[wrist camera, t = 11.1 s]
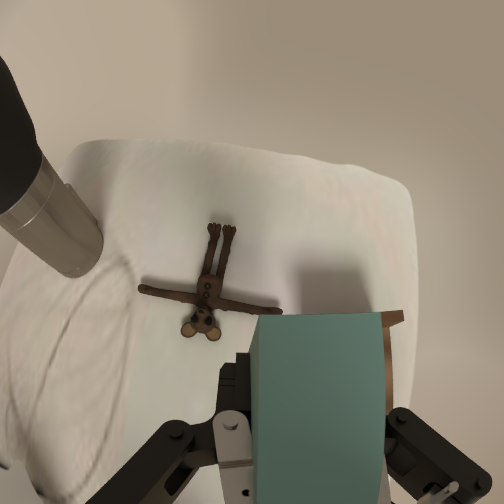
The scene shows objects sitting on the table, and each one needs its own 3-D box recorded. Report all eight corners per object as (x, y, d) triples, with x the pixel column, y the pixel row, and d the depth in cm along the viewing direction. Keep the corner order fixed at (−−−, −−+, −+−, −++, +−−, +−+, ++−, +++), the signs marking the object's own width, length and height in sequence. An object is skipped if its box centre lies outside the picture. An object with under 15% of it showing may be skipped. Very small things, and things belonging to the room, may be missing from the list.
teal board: (246, 357, 20) (259, 314, 6) (286, 357, 20) (380, 311, 6) (245, 432, 17) (255, 541, 3) (286, 431, 17) (373, 523, 4)
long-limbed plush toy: (292, 231, 34) (281, 347, 27) (287, 249, 38) (275, 354, 31) (156, 213, 35) (119, 315, 28) (163, 231, 39) (132, 326, 31)
